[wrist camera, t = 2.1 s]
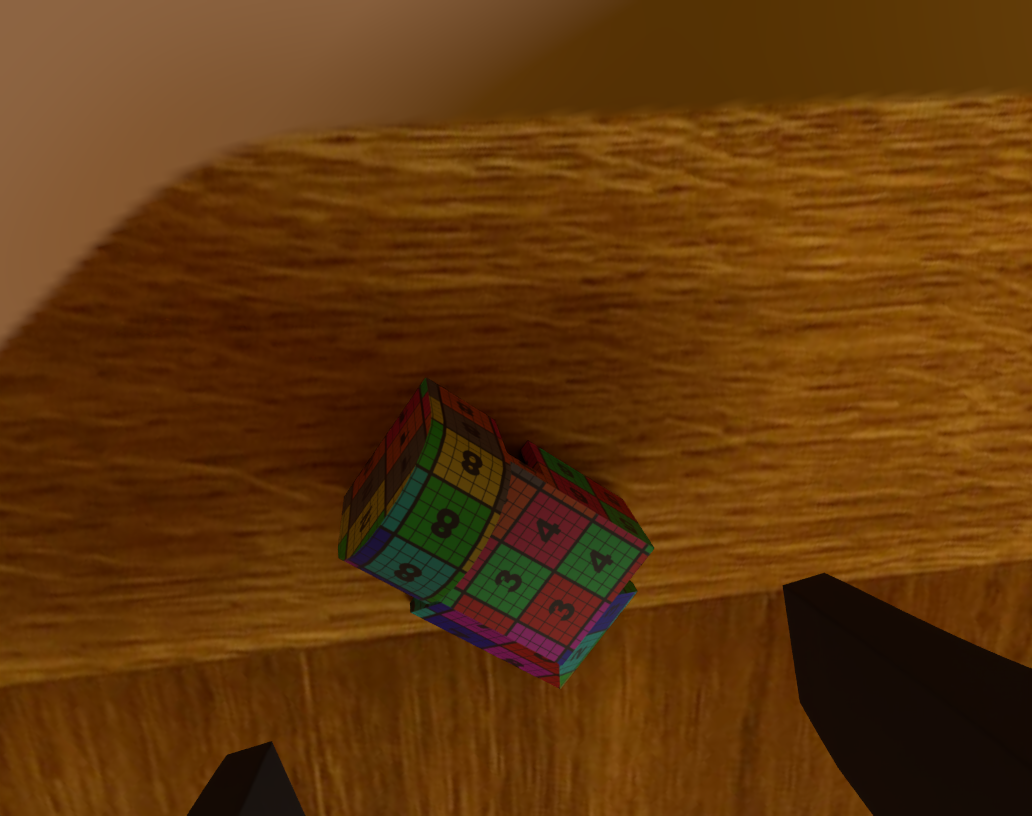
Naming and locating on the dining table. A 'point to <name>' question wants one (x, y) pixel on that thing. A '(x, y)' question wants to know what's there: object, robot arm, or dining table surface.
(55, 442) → the dining table surface
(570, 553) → the block
